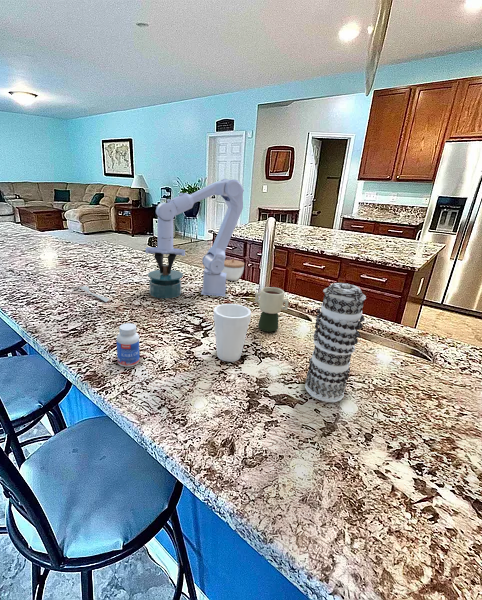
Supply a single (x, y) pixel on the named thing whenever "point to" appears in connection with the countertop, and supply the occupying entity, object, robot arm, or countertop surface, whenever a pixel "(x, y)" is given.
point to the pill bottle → (127, 345)
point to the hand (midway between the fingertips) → (165, 272)
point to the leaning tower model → (334, 341)
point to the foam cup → (230, 330)
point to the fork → (94, 294)
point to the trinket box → (233, 269)
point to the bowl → (165, 288)
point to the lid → (165, 274)
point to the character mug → (270, 307)
